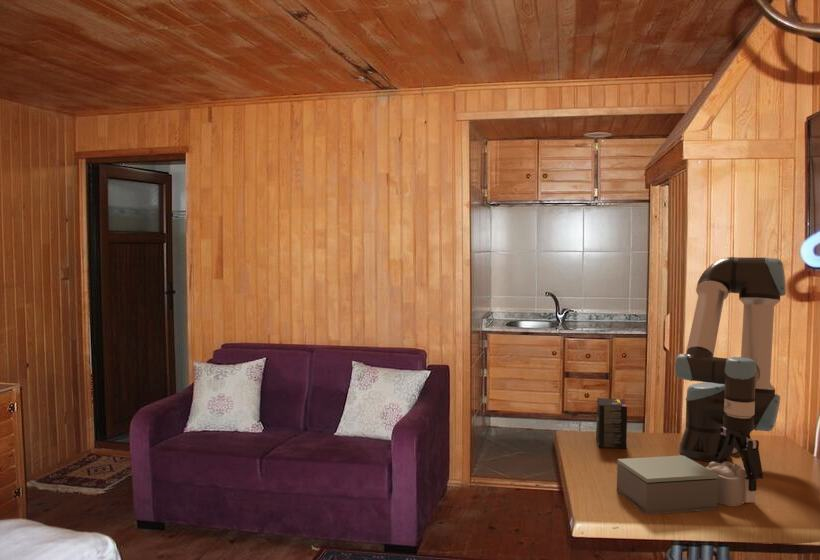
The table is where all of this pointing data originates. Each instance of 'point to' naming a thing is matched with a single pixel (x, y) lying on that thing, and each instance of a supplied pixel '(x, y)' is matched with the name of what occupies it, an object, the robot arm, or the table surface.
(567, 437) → the table surface
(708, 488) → the storage box
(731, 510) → the table surface
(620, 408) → the tampon box
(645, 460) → the lid
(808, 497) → the table surface
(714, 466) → the lumpy-topped squat cylinder
